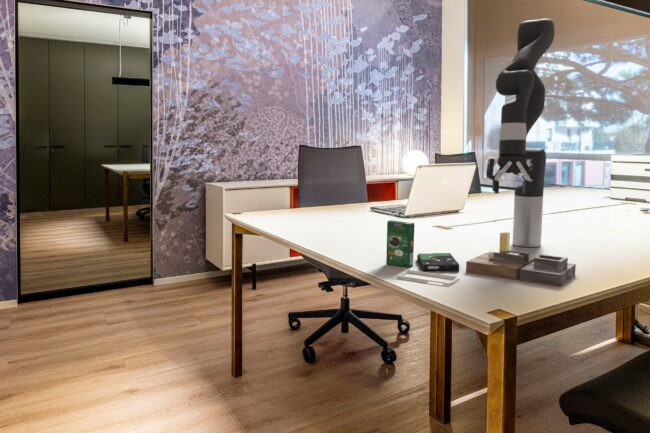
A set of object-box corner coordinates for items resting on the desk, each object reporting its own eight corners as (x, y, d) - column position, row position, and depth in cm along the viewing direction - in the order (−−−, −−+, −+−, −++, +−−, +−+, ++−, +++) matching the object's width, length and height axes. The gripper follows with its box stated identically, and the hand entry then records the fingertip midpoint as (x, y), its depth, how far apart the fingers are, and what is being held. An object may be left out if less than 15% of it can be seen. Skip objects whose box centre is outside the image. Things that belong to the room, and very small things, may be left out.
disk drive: (460, 274, 148) (449, 261, 163) (460, 264, 148) (450, 252, 162) (422, 274, 149) (416, 261, 163) (423, 264, 148) (416, 252, 163)
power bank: (459, 281, 140) (407, 274, 148) (459, 276, 140) (408, 269, 148) (449, 288, 134) (396, 279, 142) (449, 282, 134) (396, 275, 142)
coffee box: (414, 265, 155) (415, 222, 153) (410, 267, 153) (410, 223, 151) (390, 262, 160) (390, 219, 158) (385, 264, 158) (386, 221, 156)
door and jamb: (485, 262, 158) (486, 244, 158) (575, 275, 143) (576, 255, 142) (466, 271, 148) (466, 252, 147) (560, 286, 132) (561, 265, 131)
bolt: (491, 256, 151) (492, 230, 150) (519, 260, 146) (520, 233, 145) (488, 258, 149) (489, 232, 148) (516, 262, 144) (517, 235, 143)
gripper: (531, 140, 161) (529, 193, 162) (485, 139, 161) (483, 192, 162) (541, 138, 153) (539, 194, 155) (492, 138, 153) (490, 193, 155)
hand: (510, 193), depth 159 cm, fingers open, 8 cm apart
